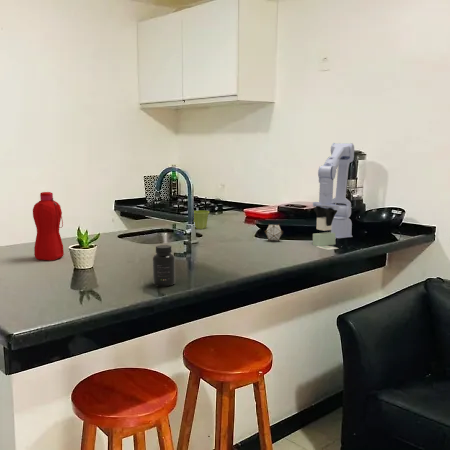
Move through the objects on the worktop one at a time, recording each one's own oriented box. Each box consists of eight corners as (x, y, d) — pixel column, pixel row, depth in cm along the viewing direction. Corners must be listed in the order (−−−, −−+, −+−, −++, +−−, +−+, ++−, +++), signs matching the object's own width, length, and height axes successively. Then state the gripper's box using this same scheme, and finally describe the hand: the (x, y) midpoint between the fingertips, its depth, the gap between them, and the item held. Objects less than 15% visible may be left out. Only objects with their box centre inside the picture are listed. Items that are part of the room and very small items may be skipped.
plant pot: (209, 229, 259) (209, 212, 258) (190, 229, 260) (190, 212, 258) (209, 226, 269) (209, 210, 267) (192, 226, 269) (192, 210, 267)
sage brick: (328, 243, 227) (328, 232, 227) (335, 244, 223) (335, 232, 223) (312, 245, 222) (312, 233, 222) (319, 246, 218) (319, 234, 218)
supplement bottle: (153, 281, 162) (153, 244, 160) (175, 281, 162) (175, 243, 160) (152, 287, 155) (151, 248, 153) (175, 286, 155) (174, 248, 154)
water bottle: (56, 262, 186) (53, 193, 182) (31, 260, 189) (27, 192, 185) (71, 257, 195) (68, 191, 191) (46, 255, 198) (43, 190, 194)
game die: (276, 248, 233) (287, 230, 234) (276, 245, 224) (288, 226, 226) (259, 238, 234) (271, 220, 236) (259, 234, 226) (271, 216, 227)
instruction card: (325, 245, 222) (325, 244, 222) (338, 248, 215) (338, 248, 215) (315, 246, 219) (315, 246, 219) (328, 250, 212) (328, 249, 212)
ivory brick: (324, 228, 225) (324, 217, 224) (331, 229, 221) (331, 218, 220) (316, 229, 222) (316, 217, 222) (323, 230, 218) (323, 219, 218)
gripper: (307, 192, 223) (306, 223, 226) (330, 195, 211) (329, 227, 213) (320, 191, 227) (318, 222, 229) (343, 194, 215) (341, 226, 217)
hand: (324, 224), depth 221 cm, fingers closed on ivory brick, 4 cm apart
